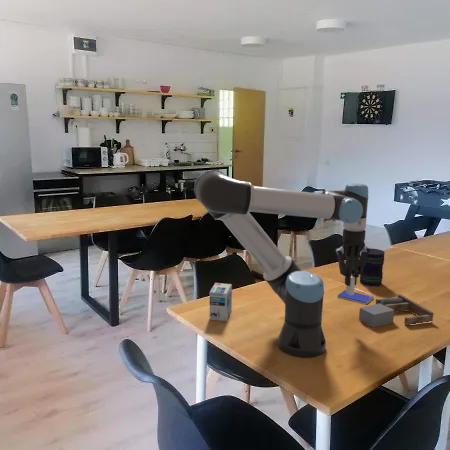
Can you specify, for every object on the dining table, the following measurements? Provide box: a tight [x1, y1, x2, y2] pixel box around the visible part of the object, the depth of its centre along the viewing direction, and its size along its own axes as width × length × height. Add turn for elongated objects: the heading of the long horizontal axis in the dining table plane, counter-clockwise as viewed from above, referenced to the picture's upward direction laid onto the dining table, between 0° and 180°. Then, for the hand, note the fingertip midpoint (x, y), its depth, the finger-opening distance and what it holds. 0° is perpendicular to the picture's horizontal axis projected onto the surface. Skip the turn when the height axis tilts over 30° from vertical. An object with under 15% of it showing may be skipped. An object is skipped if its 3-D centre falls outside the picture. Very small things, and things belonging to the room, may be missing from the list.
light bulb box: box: [209, 282, 233, 322], centre depth 169 cm, size 11×7×11 cm, turn 170°
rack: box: [375, 293, 434, 326], centre depth 173 cm, size 11×19×4 cm, turn 15°
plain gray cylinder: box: [380, 298, 404, 306], centre depth 179 cm, size 8×4×4 cm, turn 105°
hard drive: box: [337, 289, 374, 305], centre depth 190 cm, size 2×8×12 cm
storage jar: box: [359, 248, 385, 287], centre depth 207 cm, size 10×10×15 cm
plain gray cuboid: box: [358, 303, 395, 328], centre depth 167 cm, size 10×7×5 cm
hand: (349, 293), depth 162 cm, fingers closed
